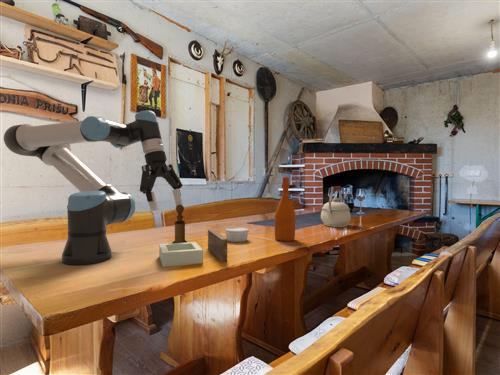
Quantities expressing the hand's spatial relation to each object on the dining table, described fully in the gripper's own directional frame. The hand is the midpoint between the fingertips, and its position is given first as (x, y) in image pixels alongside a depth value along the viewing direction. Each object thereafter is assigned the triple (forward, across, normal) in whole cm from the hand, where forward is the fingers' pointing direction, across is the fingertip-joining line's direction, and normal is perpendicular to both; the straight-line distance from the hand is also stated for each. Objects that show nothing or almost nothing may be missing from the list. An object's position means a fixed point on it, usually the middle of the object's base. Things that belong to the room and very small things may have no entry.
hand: (167, 208), depth 109 cm
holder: (+19, -5, -4) cm, 20 cm away
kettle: (+34, +104, -36) cm, 115 cm away
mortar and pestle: (+17, +7, +5) cm, 19 cm away
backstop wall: (+22, +7, -11) cm, 25 cm away
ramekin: (+22, +35, -5) cm, 42 cm away
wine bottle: (+27, +47, -23) cm, 59 cm away
